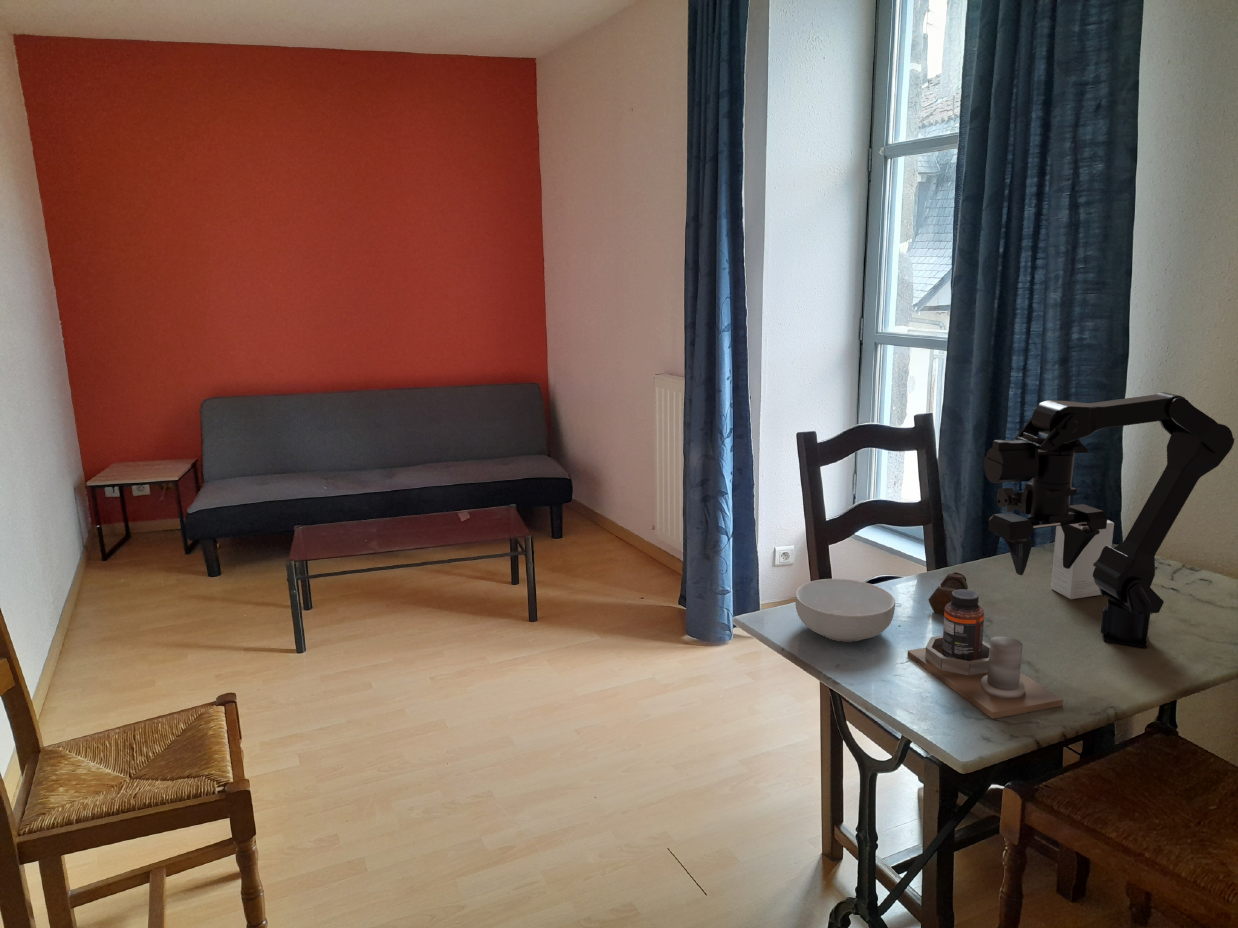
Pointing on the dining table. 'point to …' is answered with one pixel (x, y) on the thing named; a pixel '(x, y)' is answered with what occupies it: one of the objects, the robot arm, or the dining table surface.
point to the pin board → (986, 699)
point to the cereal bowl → (844, 608)
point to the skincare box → (1079, 565)
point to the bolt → (946, 591)
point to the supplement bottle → (963, 626)
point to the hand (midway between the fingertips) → (1043, 571)
